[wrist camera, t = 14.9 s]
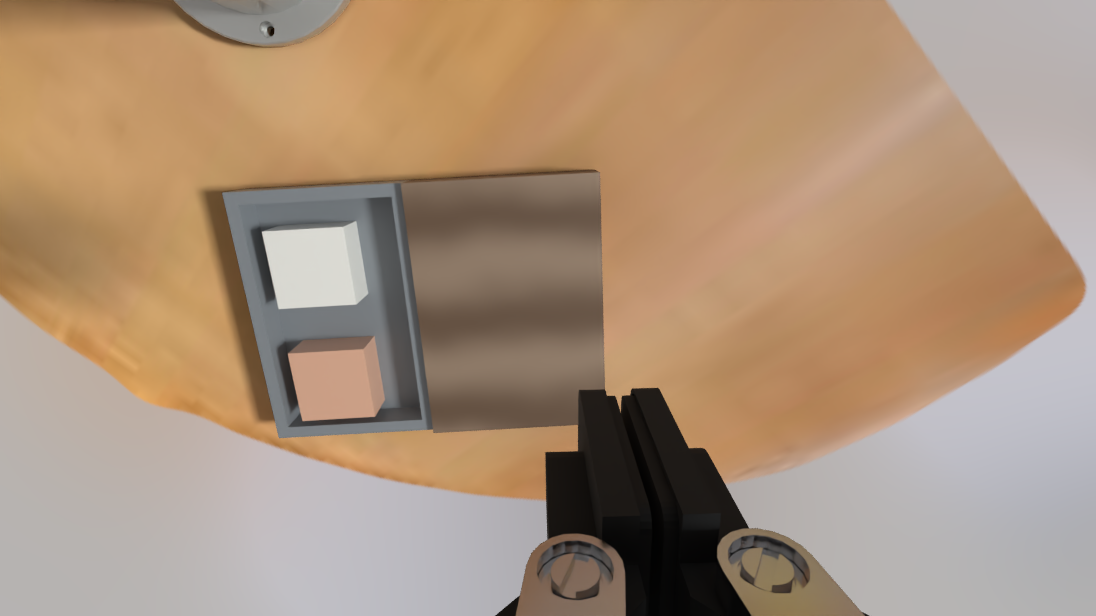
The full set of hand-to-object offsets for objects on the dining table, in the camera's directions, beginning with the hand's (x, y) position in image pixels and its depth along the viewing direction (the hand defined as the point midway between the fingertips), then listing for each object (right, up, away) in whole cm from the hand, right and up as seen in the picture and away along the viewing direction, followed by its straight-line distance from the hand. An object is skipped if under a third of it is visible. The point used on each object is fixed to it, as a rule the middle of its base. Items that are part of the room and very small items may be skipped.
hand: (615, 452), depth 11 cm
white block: (-16, +6, +22) cm, 28 cm away
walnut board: (-4, +4, +26) cm, 27 cm away
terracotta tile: (-16, -2, +25) cm, 30 cm away
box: (-15, +3, +26) cm, 31 cm away
